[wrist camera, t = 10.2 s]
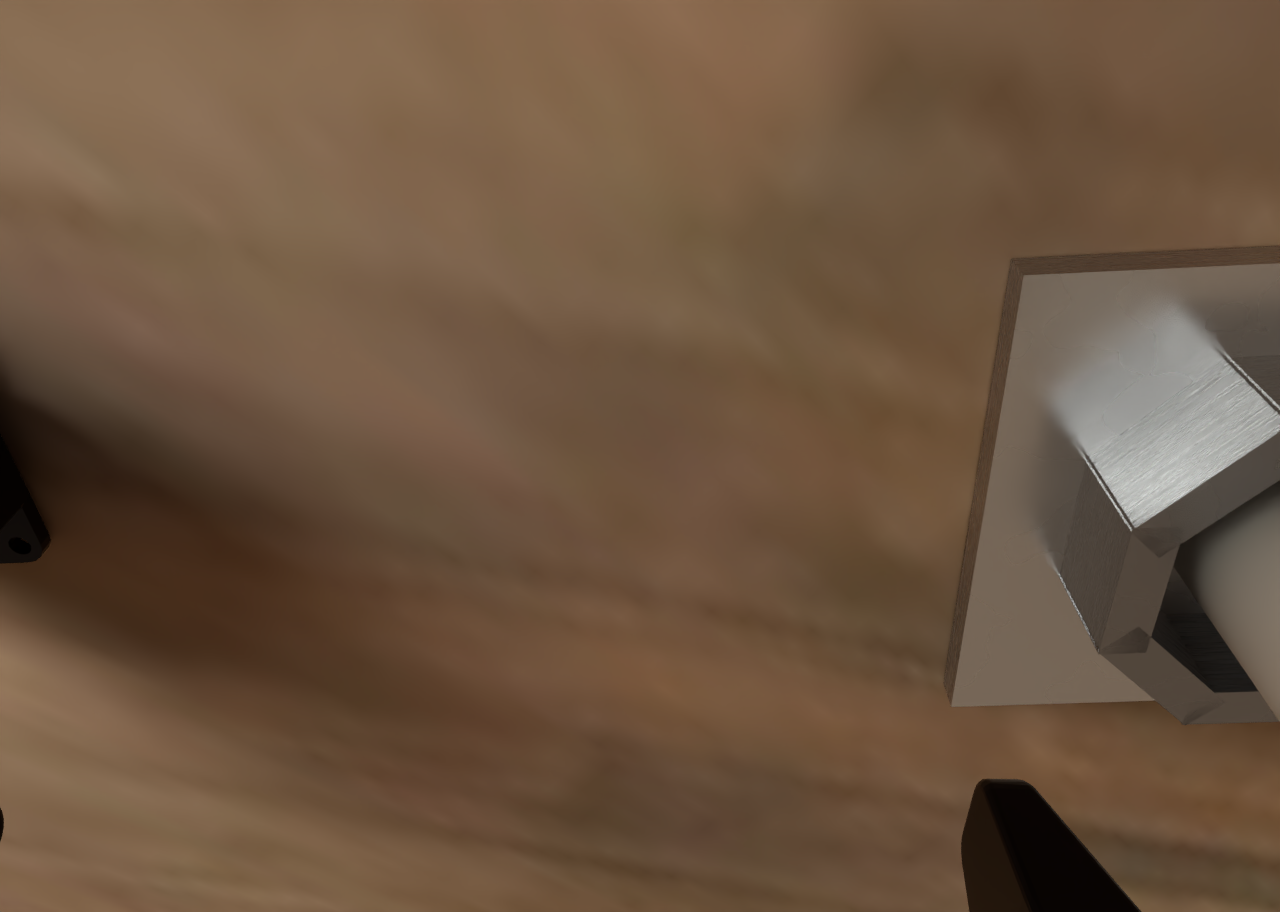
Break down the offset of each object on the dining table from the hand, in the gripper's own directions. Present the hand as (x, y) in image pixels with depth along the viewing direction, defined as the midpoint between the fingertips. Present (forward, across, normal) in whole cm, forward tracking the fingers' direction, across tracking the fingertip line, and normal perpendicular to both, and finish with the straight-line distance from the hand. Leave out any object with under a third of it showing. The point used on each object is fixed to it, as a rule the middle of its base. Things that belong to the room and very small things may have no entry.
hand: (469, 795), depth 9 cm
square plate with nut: (+13, -15, +6) cm, 21 cm away
